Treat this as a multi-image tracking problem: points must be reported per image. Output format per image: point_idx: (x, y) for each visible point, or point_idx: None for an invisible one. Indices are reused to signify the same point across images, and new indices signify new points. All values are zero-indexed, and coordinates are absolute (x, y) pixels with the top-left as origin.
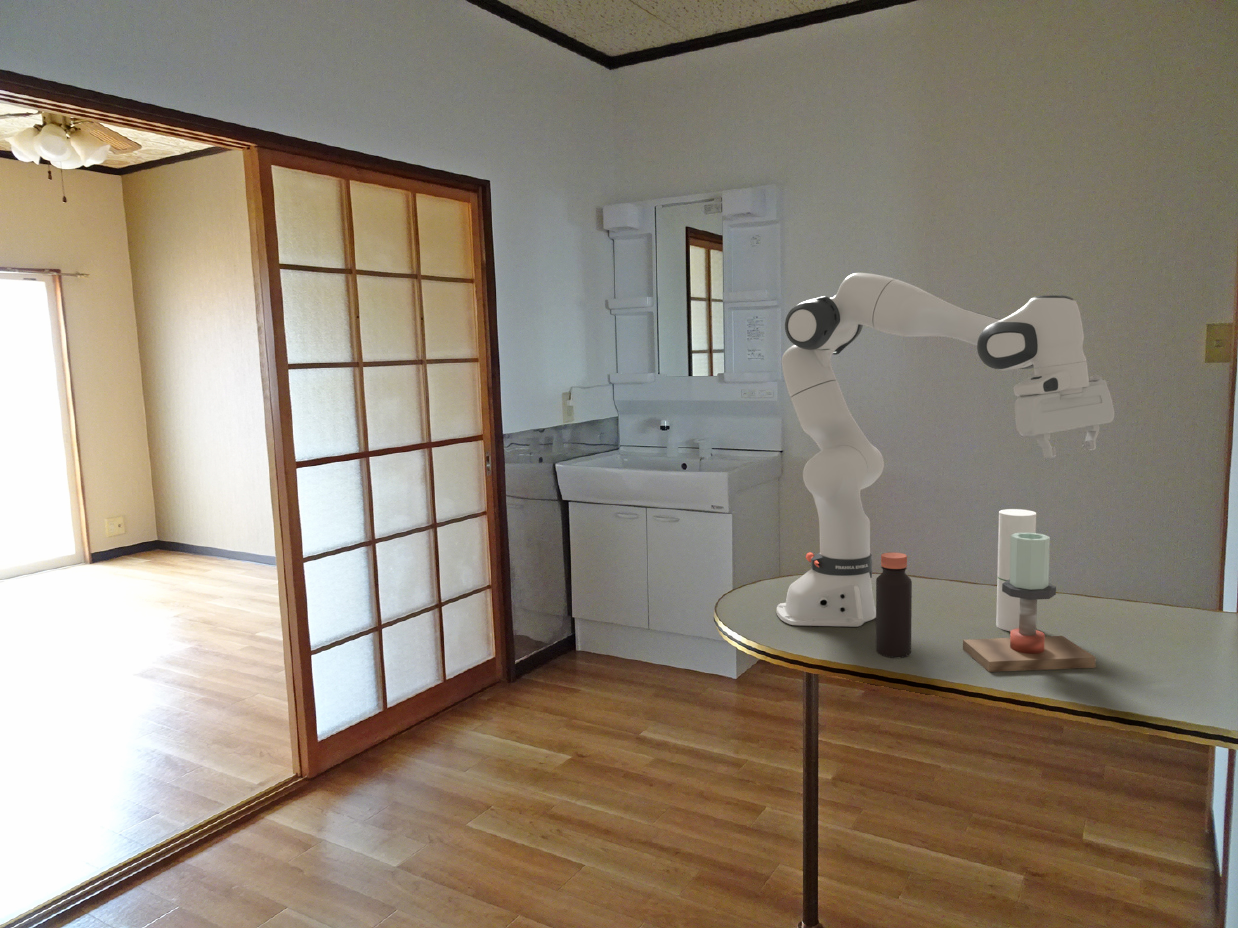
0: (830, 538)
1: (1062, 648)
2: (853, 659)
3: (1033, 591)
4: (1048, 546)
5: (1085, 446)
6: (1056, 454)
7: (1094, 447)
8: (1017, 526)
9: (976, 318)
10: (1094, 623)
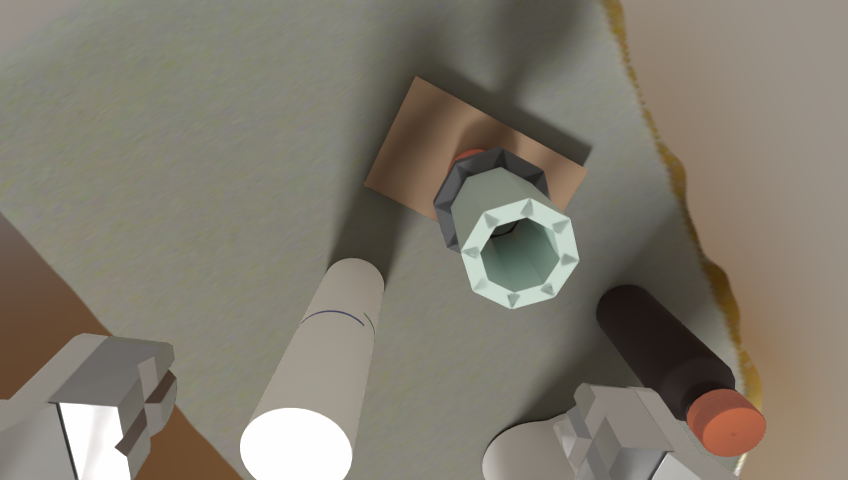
0: None
1: (424, 141)
2: (698, 319)
3: (534, 169)
4: (490, 200)
5: (153, 408)
6: (595, 387)
7: (99, 340)
8: (344, 400)
9: None
10: (213, 221)
